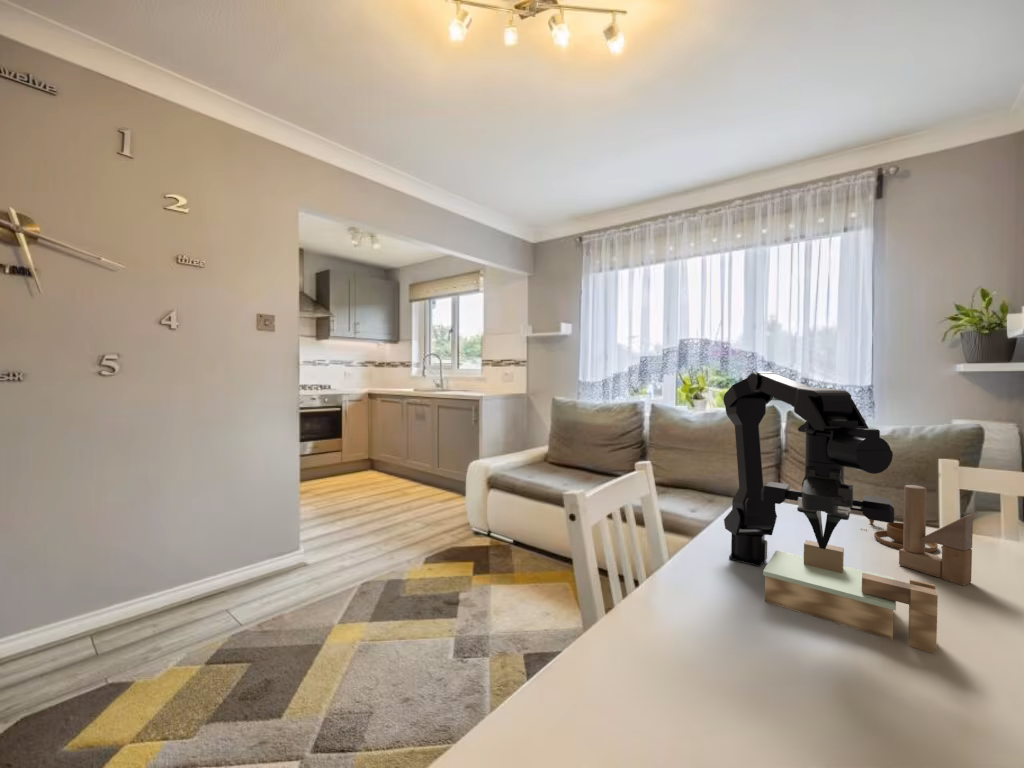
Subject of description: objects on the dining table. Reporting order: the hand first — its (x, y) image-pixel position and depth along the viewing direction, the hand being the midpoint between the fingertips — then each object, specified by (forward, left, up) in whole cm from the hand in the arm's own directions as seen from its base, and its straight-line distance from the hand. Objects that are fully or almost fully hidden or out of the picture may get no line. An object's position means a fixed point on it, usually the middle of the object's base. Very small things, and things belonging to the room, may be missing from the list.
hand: (822, 548), depth 77 cm
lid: (+1, +4, -7) cm, 8 cm away
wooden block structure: (+17, +35, -12) cm, 40 cm away
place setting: (+12, +57, -12) cm, 60 cm away
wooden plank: (+10, 0, -6) cm, 11 cm away
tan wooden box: (+3, +4, -12) cm, 13 cm away
